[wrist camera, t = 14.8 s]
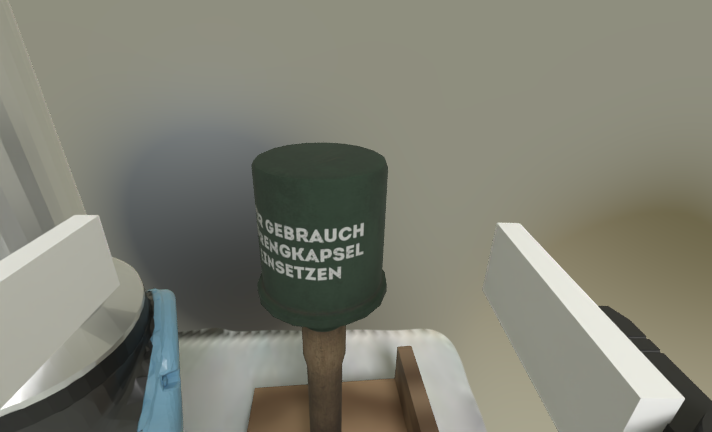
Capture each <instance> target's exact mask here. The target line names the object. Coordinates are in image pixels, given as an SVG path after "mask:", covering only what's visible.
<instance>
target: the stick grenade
mask: <svg viewBox="0 0 712 432" xmlns="http://www.w3.org/2000/svg"><path fill="white" fill-rule="evenodd" d="M252 175H253V185H254V195H255V205H256V216H257V225H258V237H259V247H260V257H261V267H262V274H261V276H260V279H259V282H258V293H259V297H260V300H261V305H262V306H263V307H264V308H265V309H266V310H267V311H268V312H269V313H270V314H271V315H272V316H273V317H275V318H277V319H280V320H282V321H284V322H286V323H289V324H291V325H294V326H301V327H302V339H303V354H304V358H305V361H306V364H307V372H308V394H309V416H310V432H342V431H341V428H342V362H343V359H344V355H345V349H346V325H347V324H350V323H352V322H355V321H357V320H360V319H363V318H365V317H367V316H368V315H369V314H370V313H371V312H373V311H374V310H375V309H376V308H377V307H379V306H380V305H381V302H382V300H383V297H384V295H385V293H386V278H385V272H384V271H383V270H382V263H383V246H384V229H385V211H386V193H387V177H388V166H387V163H386V160H385V158H384V157H383V156H382V155H380V154H378V153H377V152H375V151H373V150H369V149H366V148H363V147H360V146H353V145H347V144H338V143H302V144H294V145H286V146H282V147H278V148H274V149H271V150H269V151H266V152H264V153H262V154H259V155H258V156H257V157H256V158H255V160H254V161H253V163H252Z"/></svg>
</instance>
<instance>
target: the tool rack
mask: <svg viewBox="0 0 712 432" xmlns="http://www.w3.org/2000/svg"><path fill="white" fill-rule="evenodd" d="M341 431H342V432H439V430H438V427H437V424H436V421H435V418H434V415H433V412H432V409H431V405H430V402H429V399H428V396H427V393H426V390H425V387H424V384H423V381H422V378H421V375H420V371H419V368H418V365H417V362H416V359H415V356H414V353H413V350H412V347H411V346H402V347H397V359H396V370H395V378H394V379H379V380H365V381H351V382H342V428H341ZM247 432H310V416H309V394H308V384H307V385H293V386H279V387H264V388H255V390H254V396H253V402H252V407H251V413H250V418H249V424H248V429H247Z"/></svg>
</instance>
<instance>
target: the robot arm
mask: <svg viewBox="0 0 712 432" xmlns="http://www.w3.org/2000/svg"><path fill="white" fill-rule="evenodd" d="M482 290H483V292H484V294H485V296H486V298H487V300H488V301H489V303H490V305H491V307H492V309H493V311H494V313H495V314H496V316H497V318H498V320H499V322H500V324H501V326H502V328H503V329H504V331H505V333H506V335H507V337H508V339H509V341H510V342H511V344H512V346H513V348H514V350H515V352H516V353H517V356H518V357H519V359H520V361H521V363H522V365H523V367H524V368H525V370H526V372H527V374H528V376H529V378H530V380H531V381H532V383H533V385H534V387H535V389H536V391H537V393H538V394H539V396H540V398H541V400H542V402H543V404H544V406H545V408H546V409H547V411H548V413H549V415H550V417H551V419H552V421H553V423H554V424H555V426H556V428H557V430H558V432H712V401H711V400H710V399H709V398H708V397H707V396H706V395H705V394H704V393H703V392H702V391H701V390H700V389H699V388H698V387H697V386H696V385H695V384H694V383H693V382H692V381H691V380H690V379H689V378H688V377H687V376H686V375H685V374H684V373H683V372H682V371H681V370H680V369H679V368H678V367H677V366H676V365H675V364H674V363H673V362H672V361H671V360H670V359H669V358H668V357H667V356H666V355H665V354H663V353H660V349H659V348H658V347H657V346H656V345H655V344H654V343H652V342H651V340H649V339H646V336H645V335H644V334H643V333H642V332H641V331H640V330H639V329H638V328H637V327H636V326H635V325H634V324H633V323H632V322H631V321H630V320H629V319H627V318H626V317H624V316H623V315H621V314H620V313H618V312H616V311H615V310H613V309H612V308H610V307H608V306H597V305H596V304H595V303H594V302H593V301H592V299H591V298H589V296H588V295H587V294H586V293H585V292H584V291H583V290H582V289H581V288H580V287H579V286H578V285H577V284H576V282H574V280H573V279H572V278H571V277H569V275H568V274H567V273H566V272H565V271H564V270H563V269H562V268H561V267H560V266H559V264H557V262H556V261H555V260H554V259H553V258H552V257H551V256H550V255H549V254H548V253H547V252H546V251H545V250H544V249H543V248H542V246H541V245H539V243H538V242H537V241H536V240H535V239H534V238H533V237H532V236H531V235H530V234H529V233H528V232H527V231H526V230H525V228H524V227H523V226H521V224H520V223H497V225H496V230H495V234H494V238H493V243H492V248H491V252H490V257H489V261H488V266H487V271H486V275H485V280H484V284H483V289H482ZM175 299H176V298H175V295H174V293H173V292H172V291H170V290H167V289H163V290H158V289H155V288H154V289H151V290H148V291H147V292H145V289H144V285H143V282H142V280H141V278H140V276H139V275H138V273H137V271H136V270H134V269H133V267H132V266H130V265H128V264H127V263H125V262H123V261H121V260H119V259H117V258H114V257H111V253H110V251H109V247H108V244H107V241H106V238H105V234H104V231H103V228H102V224H101V221H100V218H99V215H87V214H86V211H85V209H84V206H83V203H82V201H81V198H80V195H79V192H78V190H77V187H76V184H75V181H74V179H73V176H72V173H71V170H70V168H69V165H68V162H67V159H66V157H65V154H64V151H63V148H62V146H61V143H60V140H59V137H58V135H57V132H56V129H55V126H54V124H53V121H52V119H51V115H50V113H49V110H48V107H47V105H46V102H45V99H44V96H43V94H42V91H41V88H40V85H39V83H38V80H37V77H36V74H35V72H34V69H33V66H32V64H31V61H30V58H29V55H28V52H27V50H26V47H25V44H24V42H23V39H22V36H21V33H20V31H19V28H18V25H17V22H16V20H15V17H14V14H13V11H12V9H11V6H10V3H9V0H0V432H183V414H182V397H181V382H180V363H179V343H178V327H177V312H176V300H175Z"/></svg>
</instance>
